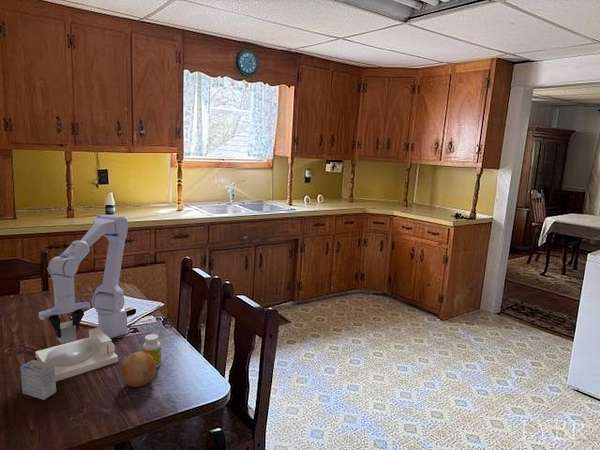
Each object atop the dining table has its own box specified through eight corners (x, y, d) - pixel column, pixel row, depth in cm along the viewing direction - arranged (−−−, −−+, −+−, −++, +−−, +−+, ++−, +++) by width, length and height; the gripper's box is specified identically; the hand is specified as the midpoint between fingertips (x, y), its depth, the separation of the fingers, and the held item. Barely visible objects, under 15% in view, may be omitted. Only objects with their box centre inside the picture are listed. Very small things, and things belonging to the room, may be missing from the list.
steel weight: (71, 335, 142) (70, 320, 142) (76, 339, 140) (75, 325, 139) (57, 338, 139) (56, 324, 138) (61, 343, 136) (60, 328, 135)
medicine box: (57, 392, 123) (55, 364, 122) (43, 401, 119) (41, 372, 118) (36, 386, 126) (33, 358, 124) (21, 394, 122) (19, 366, 120)
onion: (136, 397, 123) (135, 365, 121) (114, 385, 128) (112, 354, 126) (163, 382, 131) (162, 351, 129) (141, 371, 136) (140, 342, 134)
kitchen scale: (97, 340, 155) (96, 323, 154) (119, 361, 142) (118, 343, 140) (35, 357, 141) (34, 339, 140) (53, 382, 128) (52, 362, 127)
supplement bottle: (155, 370, 137) (154, 341, 136) (139, 367, 138) (139, 339, 137) (163, 361, 143) (163, 334, 141) (149, 359, 144) (148, 332, 142)
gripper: (83, 286, 144) (85, 324, 147) (34, 295, 134) (37, 336, 136) (92, 291, 139) (94, 331, 142) (41, 302, 129) (44, 344, 132)
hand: (66, 334), depth 139 cm, fingers closed on steel weight, 4 cm apart
